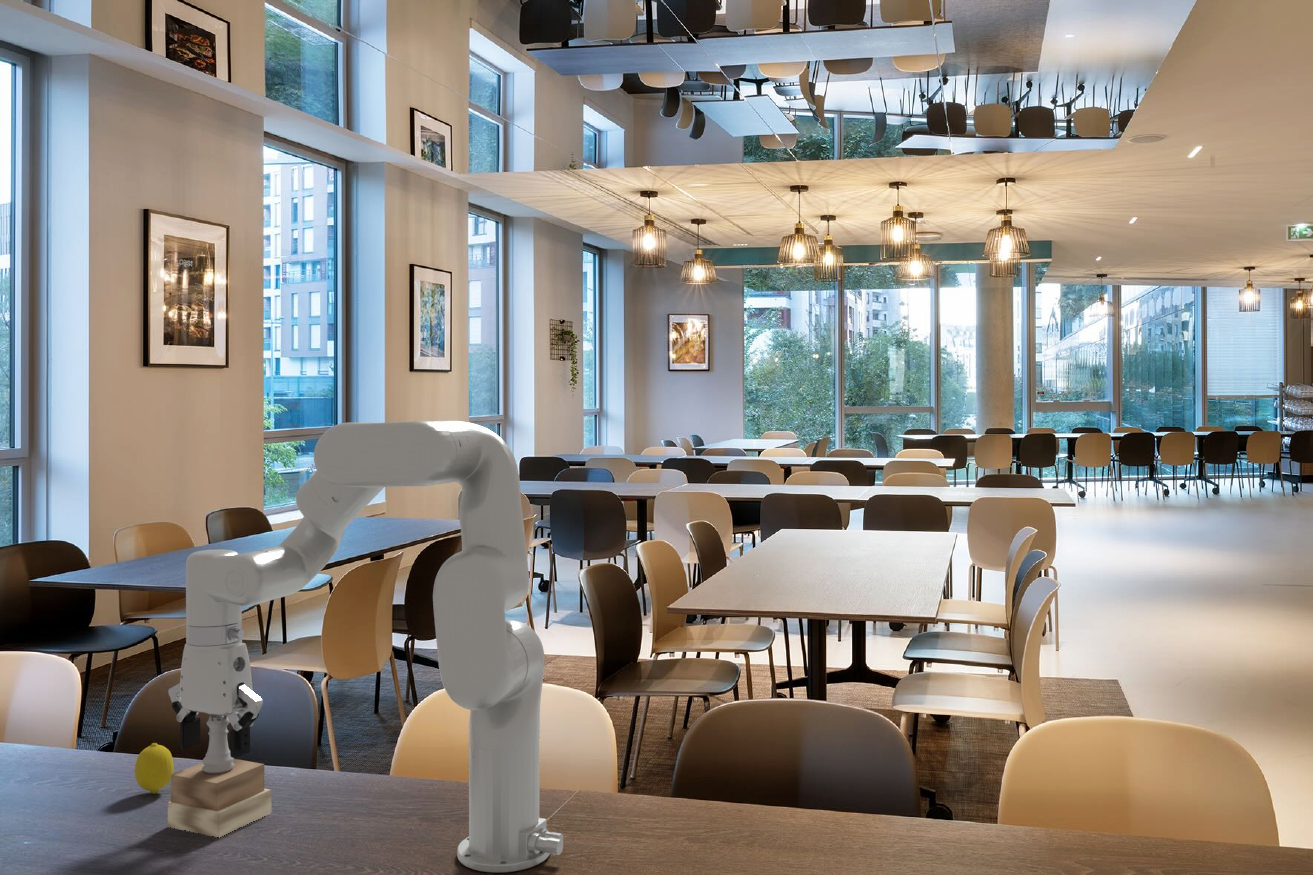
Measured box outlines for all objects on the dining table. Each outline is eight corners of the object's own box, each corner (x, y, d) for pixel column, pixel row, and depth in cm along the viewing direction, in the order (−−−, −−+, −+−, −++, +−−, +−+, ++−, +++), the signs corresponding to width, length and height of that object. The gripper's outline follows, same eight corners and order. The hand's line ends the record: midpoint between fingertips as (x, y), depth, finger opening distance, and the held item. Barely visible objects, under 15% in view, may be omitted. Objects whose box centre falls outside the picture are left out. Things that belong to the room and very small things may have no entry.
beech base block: (271, 816, 156) (271, 789, 156) (219, 840, 147) (219, 812, 147) (221, 806, 160) (221, 780, 160) (167, 829, 151) (167, 802, 150)
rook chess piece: (240, 765, 155) (240, 712, 155) (224, 775, 150) (224, 720, 150) (212, 763, 155) (212, 710, 155) (195, 773, 151) (195, 719, 151)
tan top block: (264, 790, 155) (264, 764, 155) (217, 811, 147) (216, 783, 147) (219, 782, 159) (219, 756, 159) (170, 801, 151) (170, 774, 151)
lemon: (135, 790, 165) (135, 740, 165) (173, 785, 168) (173, 736, 167) (134, 802, 160) (134, 750, 160) (173, 796, 163) (173, 745, 162)
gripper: (278, 634, 152) (279, 750, 152) (191, 625, 159) (191, 736, 159) (239, 644, 145) (240, 766, 145) (149, 634, 152) (150, 751, 152)
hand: (215, 750), depth 152 cm, fingers open, 9 cm apart
